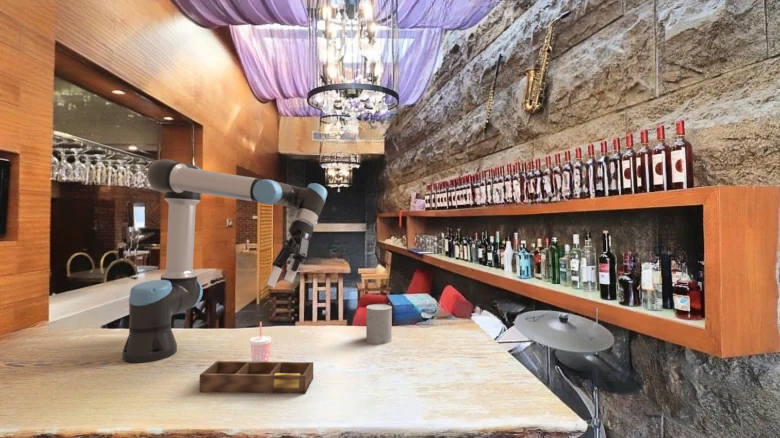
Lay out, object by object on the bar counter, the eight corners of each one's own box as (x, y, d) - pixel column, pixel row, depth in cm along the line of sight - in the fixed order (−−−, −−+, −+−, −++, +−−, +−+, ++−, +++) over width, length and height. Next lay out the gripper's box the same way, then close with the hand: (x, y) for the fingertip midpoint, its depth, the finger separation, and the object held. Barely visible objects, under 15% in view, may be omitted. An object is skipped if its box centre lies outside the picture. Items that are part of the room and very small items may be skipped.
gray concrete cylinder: (388, 345, 137) (389, 310, 137) (363, 343, 139) (363, 309, 139) (394, 337, 146) (394, 304, 146) (369, 335, 148) (369, 303, 148)
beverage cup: (275, 368, 115) (275, 321, 115) (258, 374, 110) (259, 325, 110) (261, 363, 118) (262, 318, 118) (244, 370, 113) (245, 322, 113)
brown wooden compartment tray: (198, 392, 98) (199, 374, 98) (216, 377, 108) (217, 360, 108) (305, 394, 98) (305, 375, 98) (313, 378, 108) (313, 361, 108)
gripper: (331, 222, 122) (307, 284, 112) (296, 237, 140) (273, 291, 130) (311, 210, 118) (285, 273, 108) (278, 227, 137) (253, 283, 127)
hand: (278, 283), depth 119 cm, fingers open, 13 cm apart
